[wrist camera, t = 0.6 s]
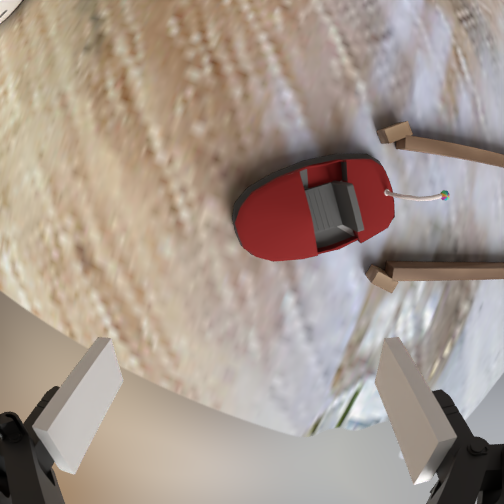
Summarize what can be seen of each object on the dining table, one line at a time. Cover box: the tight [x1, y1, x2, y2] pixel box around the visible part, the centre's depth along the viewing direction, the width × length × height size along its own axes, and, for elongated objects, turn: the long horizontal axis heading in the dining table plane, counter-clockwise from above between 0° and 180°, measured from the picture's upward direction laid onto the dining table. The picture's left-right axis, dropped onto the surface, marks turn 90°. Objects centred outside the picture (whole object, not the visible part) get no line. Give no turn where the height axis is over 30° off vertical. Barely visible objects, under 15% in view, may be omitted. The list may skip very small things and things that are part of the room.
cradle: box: [366, 121, 504, 293], centre depth 33 cm, size 19×27×2 cm
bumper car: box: [232, 154, 449, 261], centre depth 30 cm, size 10×20×10 cm, turn 108°
